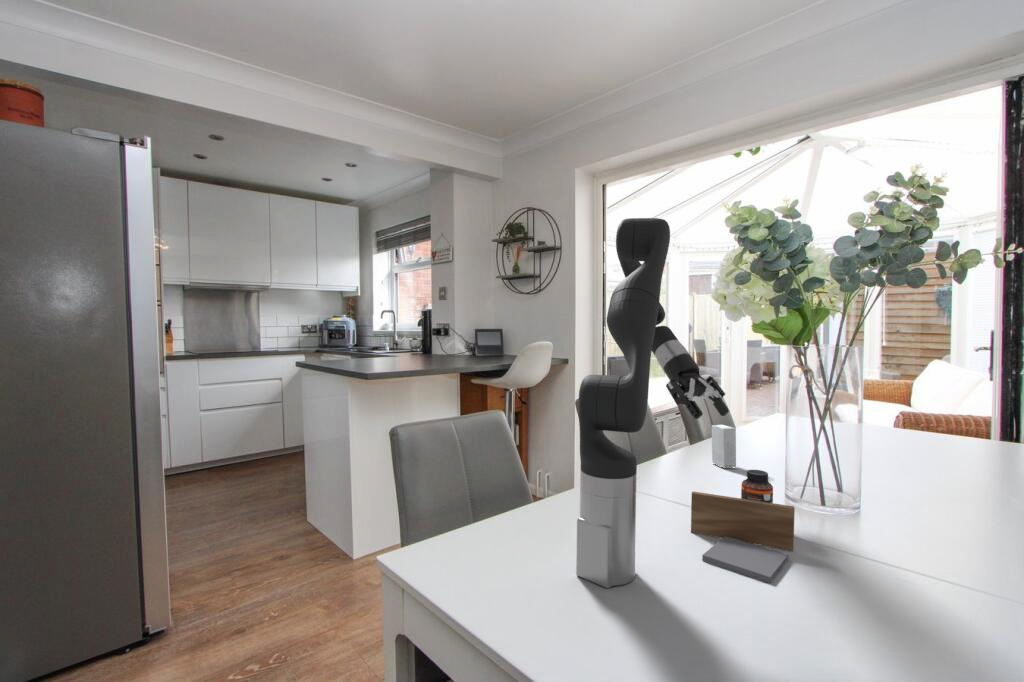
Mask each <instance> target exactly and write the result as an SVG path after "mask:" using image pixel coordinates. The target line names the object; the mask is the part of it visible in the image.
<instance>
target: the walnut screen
mask: <svg viewBox="0 0 1024 682" xmlns="http://www.w3.org/2000/svg"><path fill="white" fill-rule="evenodd" d="M795 509H796V508H795V506H793V505H787V504H779V503H775V502H774V503H767V502H761V501H754V500H747V499H741V498H740V497H739V498H738V497H733V496H725V495H720V494H714V493H707V492H706V493H705V492H700V491H691V509H690V512H691V514H690V533H693V534H699V535H705V536H707V537H709V536H710V537H713V538H714V537H715V538H719V539H722V538H723V537H724V536H727V537H731V538H734V539H737V540H741V541H744V542H748V543H751V544H754V545H758V546H762V547H769V548H774V549H780V550H786V551H791V552H794V549H795V548H794V545H795V544H794V542H795V539H794V538H795V512H796V511H795Z"/></svg>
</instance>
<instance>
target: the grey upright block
mask: <svg viewBox="0 0 1024 682" xmlns="http://www.w3.org/2000/svg"><path fill="white" fill-rule="evenodd" d="M736 430H737V428H734V427H733V426H730V425H725V424H712V425H711V461H712V462H713V463H715V464H717V465H719V466H721V467H723V468H733V467H736V468H737V438H736V437H737V434H736V433H737V431H736ZM721 467H720V468H721ZM723 468H722V469H723Z"/></svg>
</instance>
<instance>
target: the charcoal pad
mask: <svg viewBox="0 0 1024 682" xmlns="http://www.w3.org/2000/svg"><path fill="white" fill-rule="evenodd" d="M702 561H703V562H706V563H709V564H712V565H714V566H718V567H721V568H723V569H726V570H730V571H733V572H736V573H738V574H741V575H745V576H746V577H750V578H753V579H756V580H760V581H763V582H765V583H769V584H771V583H772V581H773V580H774V579H775V577H777V575H778V574H779V573H780V571H781V570H782V569H783V567H784V566H785V565H786V563H787V562H788V561H789V554H788V553H785V552H782V551H777V550H775V549H771V548H767V547H766V546H762V545H757V544H752V543H748V542H744V541H741V540H737V539H734V538H731V537H727V536H724V537H723V538H720V540H719V541H717V542H716V543H715V544H713V546H711V547H710V548H709V549H707V550H706V552H704V553H703V554H702Z"/></svg>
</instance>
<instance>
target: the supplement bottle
mask: <svg viewBox="0 0 1024 682" xmlns="http://www.w3.org/2000/svg"><path fill="white" fill-rule="evenodd" d="M740 491H741V493H740V497H741V499H747V500H754V501H761V502H767V503H773V502H774V486H773V485H772V483H770V481H769V473H768V472H767V471H765V470H761V469H748V470H746V479H743V480H742V481H741V490H740Z"/></svg>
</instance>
